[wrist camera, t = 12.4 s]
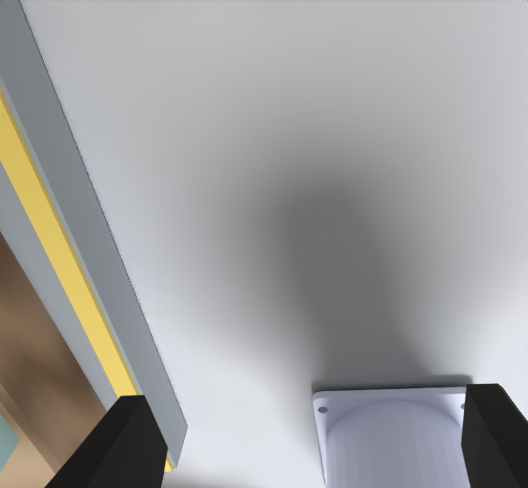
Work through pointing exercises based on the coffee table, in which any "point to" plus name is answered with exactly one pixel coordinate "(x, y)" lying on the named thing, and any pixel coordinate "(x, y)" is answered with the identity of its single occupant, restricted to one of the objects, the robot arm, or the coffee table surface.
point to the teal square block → (6, 442)
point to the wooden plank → (38, 384)
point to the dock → (71, 238)
